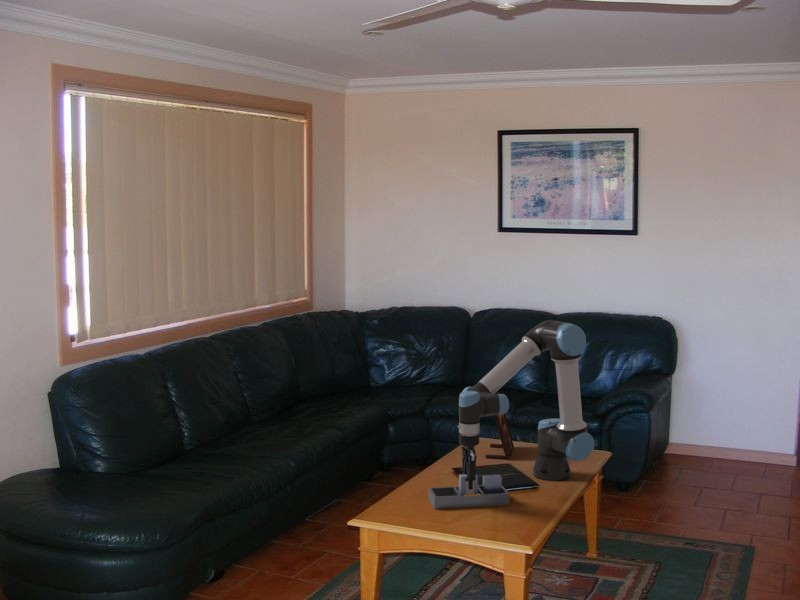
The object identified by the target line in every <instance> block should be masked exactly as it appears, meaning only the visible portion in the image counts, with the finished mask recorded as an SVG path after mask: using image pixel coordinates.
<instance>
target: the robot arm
mask: <svg viewBox="0 0 800 600" xmlns="http://www.w3.org/2000/svg"><path fill="white" fill-rule="evenodd" d="M586 346H587V337H586V334H585V332H584V330H583V329H582V328H581V327H580V326H578V325H576V324H573V323H570V322H565V321H558V320H554V319H549V320H548V319H547V320H544V321H542V322H540V323H539V324H537V325H536V326H534V327H533V328H532V329H530V330H529V331H528V332H526V333H525V334H524V335H523V336H522V338H521V342H520V343H519V344H517V346H515V347H514V349H512V350H511V351H510V352H509V353H508V354H507V355H506V356H504V357H503V359H502V360H500V361H499V362H498V363H497V364H496V365H495V366H494V367H492V369H491V370H490V371H489V372H487V373H486V375H484V376H483V377H482V378H481V379H480V380H479V381H478V382H477V383H476V384H475V385H473V386H466V387H465V388H464V389H463V390H462V391H461V392H460V393H459V398H458V424H459V425H457V428H458V433H459V434H458V444H459V445H461V460H462V461H461V463H462V464H461V468H462V469H461V470H462V471H461V473H462V474H467V479H465V481H466V494H474V480H475V479H476V475H477V473H476V470H477V455H476V449H475V447H476V446H478V445H480V431H481V430H480V428H481V427H480V426H481V425H480V424H481V423H480V421H481V420H480V419H481V418H482V417H490V416H494V415H500V414H505V415H506V414H507V413H508V411H509V409H510V402H509V401H510V400H509V398H508V397H507V396H508V395H506V394H504V393H499V394H496V395H494V394H495V393H496V392H497V391H499V390H500V389H501V388H502V387H503V386H504V385H506V383H508V382H509V380H511V379H513V377H514V376H515V375H516V374H518V372H519V371H520V370H521V369H523V368H524V367H525V366H526V365H527V364H528V363H529V362H530V361H531V360H532V359H533V358H535V356H540V355H541V354H542V353H544V352H545V351H548V350H549V352H550V359H551V360H552V361H553V362H554V365H555V373H556V375H555V376H556V385H557V386H556V387H557V398H558V399H557V400H558V409H559V418H545V419H541V420H540V421H539V422H538V426H537V457H536V460H535V463H534V465H533V468H532V475H533V477H535V478H537V479H540V480H544V481H565V480H567V479H570V478H571V476H572V475H571V473H572V471H571V467H570V463H569V461H568V459H569V460H570V461H575V462H581V461H584V460H586V459H588V458H589V457H590V455H591V454H592V453H593V451H594V449H595V440H594V438H593V436H592V435H591V433H590V432H588V424H587V422H586V421H584V419H583V409H582V398H581V387H580V386H581V385H580V384H581V382H580V375H579V374H580V372H579V360H580V359H581V358H582V353H583V352H584V350H585V348H586Z"/></svg>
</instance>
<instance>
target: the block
mask: <svg viewBox="0 0 800 600" xmlns="http://www.w3.org/2000/svg"><path fill="white" fill-rule="evenodd" d="M465 479H467V474H463V473H462V474H458V485H459V493H460V494H461V495H464V494H466V481H465ZM478 485H479V475H478V474H476V479H475V480H474V494H478Z"/></svg>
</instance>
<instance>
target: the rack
mask: <svg viewBox="0 0 800 600" xmlns="http://www.w3.org/2000/svg"><path fill="white" fill-rule="evenodd" d="M502 478H503V477H502V476H501V475H500V474H488V475H487V474H486V475H482V484H478V494H464V495H461V494H460V493H459V484H457V485H456V486H438V487H435V486H434V487H428V491H427V492H428V493H427V495H428V497H427V498H428V500H429V502H430V504H431V505H432V507H433V510H437V509H456V508H457V509H458V508H472V507H474V508H475V507H492V506H509V505H510V492H509V491H508V490H507V489H506V488H505V487H504V486H503V481H502V480H503V479H502Z"/></svg>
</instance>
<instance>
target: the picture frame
mask: <svg viewBox="0 0 800 600" xmlns="http://www.w3.org/2000/svg"><path fill="white" fill-rule="evenodd" d="M496 394H500V391H499V390H498V391H497V392H496V393H495V394H494V395H496ZM493 417H494V421H495V423H496V427H497V431H498V434H499V438H500V442H501V443H490V444H489V447H490V448H502V449H503V452H504V454H485V458H486V459H501V460H502V459H503V460H506V461H508V460H509V461H510V460H511V457H512V453H513V451H514V448H515V445H514V441H513V439H512V436H511V435H512V434H511V431H510V427H509V424H508V420H507V418H506V417H507V416H506V413H505V414H500V415H493Z"/></svg>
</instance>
